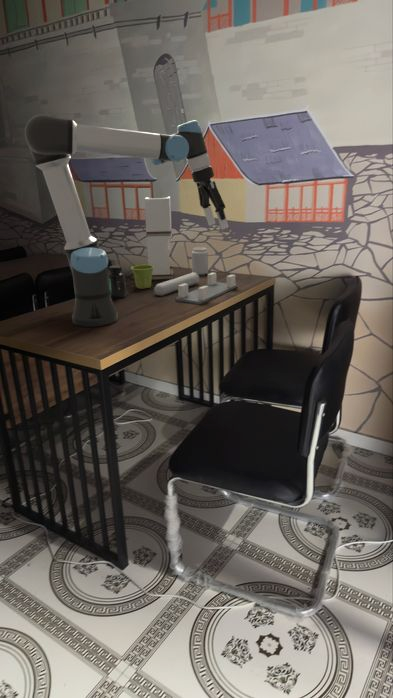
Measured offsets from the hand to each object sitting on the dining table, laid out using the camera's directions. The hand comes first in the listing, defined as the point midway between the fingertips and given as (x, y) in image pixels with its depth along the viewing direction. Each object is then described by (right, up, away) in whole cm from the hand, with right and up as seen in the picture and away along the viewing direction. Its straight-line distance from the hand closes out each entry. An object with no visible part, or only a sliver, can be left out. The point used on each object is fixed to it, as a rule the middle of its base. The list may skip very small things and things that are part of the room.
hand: (218, 226), depth 182 cm
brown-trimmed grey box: (-24, -12, +47) cm, 54 cm away
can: (-6, -10, +50) cm, 51 cm away
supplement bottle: (-40, -24, +15) cm, 49 cm away
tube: (-16, -21, +23) cm, 35 cm away
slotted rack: (-4, -23, +15) cm, 28 cm away
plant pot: (-31, -19, +28) cm, 46 cm away
